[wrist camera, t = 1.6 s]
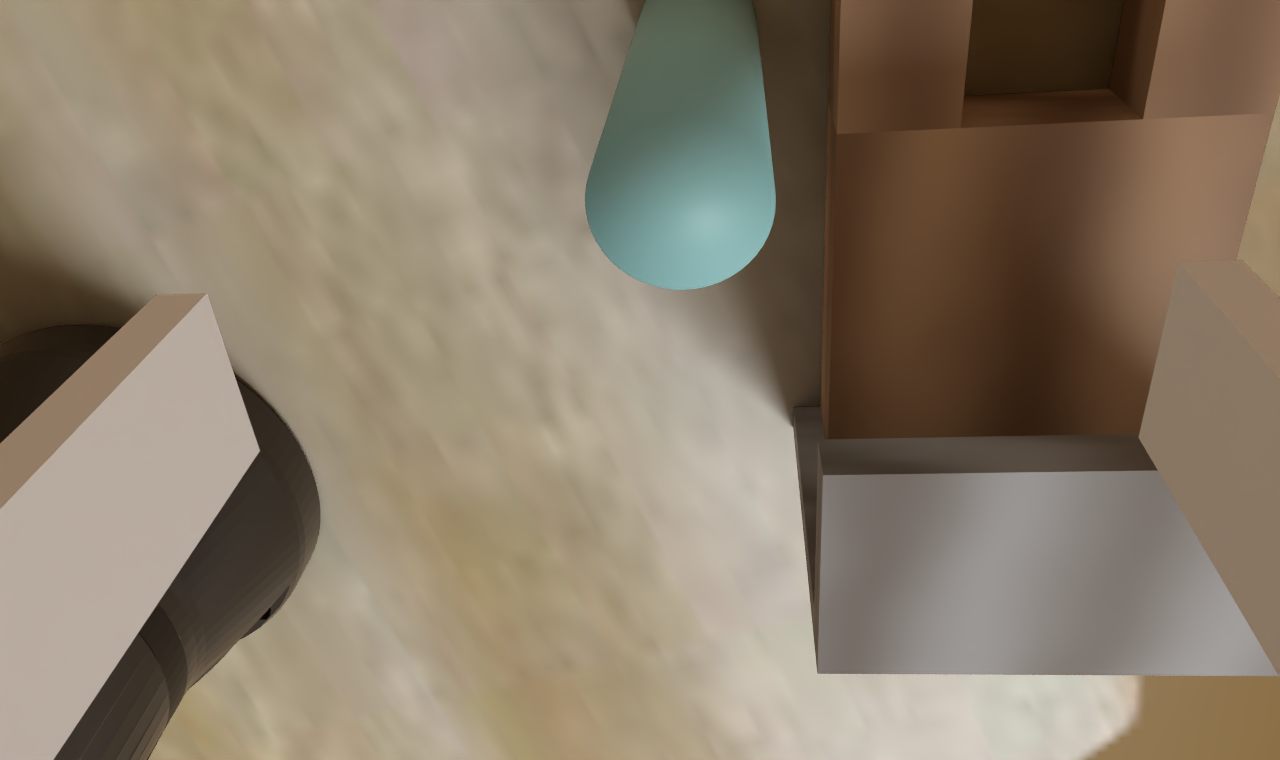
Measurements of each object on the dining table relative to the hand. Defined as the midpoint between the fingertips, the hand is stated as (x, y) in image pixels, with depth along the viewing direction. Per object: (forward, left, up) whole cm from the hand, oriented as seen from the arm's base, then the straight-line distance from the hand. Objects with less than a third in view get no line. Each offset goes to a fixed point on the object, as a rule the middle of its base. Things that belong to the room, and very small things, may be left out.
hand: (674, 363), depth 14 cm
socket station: (+10, -4, -20) cm, 22 cm away
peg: (0, 0, -20) cm, 20 cm away
